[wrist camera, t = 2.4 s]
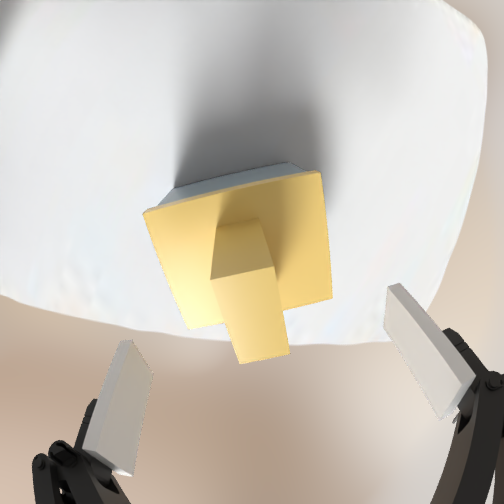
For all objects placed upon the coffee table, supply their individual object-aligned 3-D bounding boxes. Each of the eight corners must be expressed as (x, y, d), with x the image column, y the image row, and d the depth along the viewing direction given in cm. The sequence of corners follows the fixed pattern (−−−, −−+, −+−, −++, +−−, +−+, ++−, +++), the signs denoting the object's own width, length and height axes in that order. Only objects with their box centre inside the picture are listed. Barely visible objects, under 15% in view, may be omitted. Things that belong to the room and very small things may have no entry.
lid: (190, 313, 24) (179, 394, 16) (150, 205, 20) (102, 258, 12) (324, 284, 24) (363, 356, 16) (311, 168, 20) (367, 198, 11)
